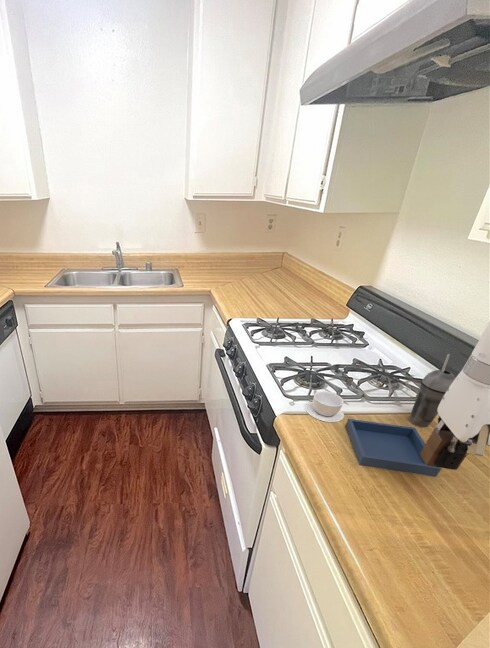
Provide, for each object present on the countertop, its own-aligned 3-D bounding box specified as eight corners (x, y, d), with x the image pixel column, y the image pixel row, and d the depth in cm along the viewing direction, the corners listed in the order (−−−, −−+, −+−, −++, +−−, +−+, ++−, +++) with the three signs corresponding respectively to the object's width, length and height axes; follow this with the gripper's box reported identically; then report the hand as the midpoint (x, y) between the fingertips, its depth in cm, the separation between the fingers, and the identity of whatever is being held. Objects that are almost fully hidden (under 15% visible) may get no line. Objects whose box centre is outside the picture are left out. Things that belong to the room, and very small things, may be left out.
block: (448, 458, 65) (464, 433, 62) (456, 470, 62) (474, 444, 59) (419, 454, 66) (433, 429, 62) (426, 465, 63) (441, 440, 60)
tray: (410, 436, 87) (415, 427, 85) (435, 477, 75) (441, 468, 73) (344, 427, 89) (348, 418, 88) (358, 466, 77) (363, 456, 76)
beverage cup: (438, 434, 88) (479, 364, 77) (405, 428, 90) (441, 358, 79) (429, 418, 94) (467, 351, 83) (399, 412, 96) (432, 346, 84)
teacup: (335, 428, 89) (341, 413, 86) (298, 412, 94) (303, 398, 92) (348, 412, 95) (354, 398, 92) (313, 398, 101) (317, 384, 98)
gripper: (561, 403, 46) (487, 497, 56) (492, 352, 60) (441, 435, 70) (498, 396, 47) (436, 488, 58) (444, 347, 61) (401, 429, 71)
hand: (439, 458), depth 64 cm, fingers closed on block, 3 cm apart
